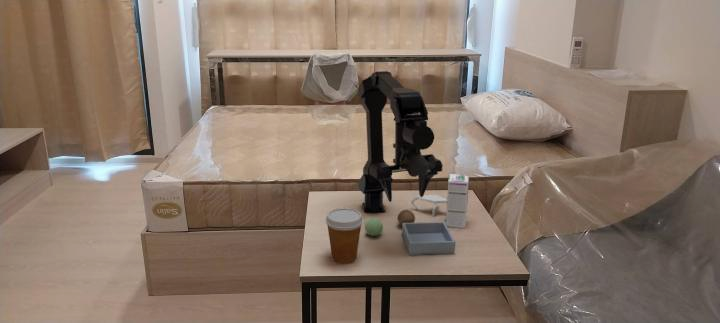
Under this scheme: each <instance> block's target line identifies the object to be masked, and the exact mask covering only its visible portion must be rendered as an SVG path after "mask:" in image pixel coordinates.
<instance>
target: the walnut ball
mask: <svg viewBox="0 0 720 323" xmlns="http://www.w3.org/2000/svg"><path fill="white" fill-rule="evenodd" d="M415 221H416V217H415V214H414V212H413V211H411V210H410V209H403V210H401V211H400V212H399V213H398V215H397V222H398V224H399V225H400V226H401V227H402V223H415Z"/></svg>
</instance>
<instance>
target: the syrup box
mask: <svg viewBox="0 0 720 323" xmlns="http://www.w3.org/2000/svg"><path fill="white" fill-rule="evenodd" d="M469 177H470V176H469V175H468V174H459V173H450V174H449V176H448V183H447V203H446V212H447V214H445V215H446V217H445V224H446V225H447V227H449V228H450V227H451V228H459V229H465V228H466V224H467V213H468V199H469V179H470V178H469Z"/></svg>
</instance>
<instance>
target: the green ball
mask: <svg viewBox="0 0 720 323" xmlns="http://www.w3.org/2000/svg"><path fill="white" fill-rule="evenodd" d="M383 225H384V224H383V223H382V221H381V220H380V219H379V218H376V217H371V218H369V219H367V221H366V222H365V224H364V230H365V232H366V234H368V235H369V236H370V237H377V236H379V235H380V234H381V233H382V232H383V228H384V227H383Z"/></svg>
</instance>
